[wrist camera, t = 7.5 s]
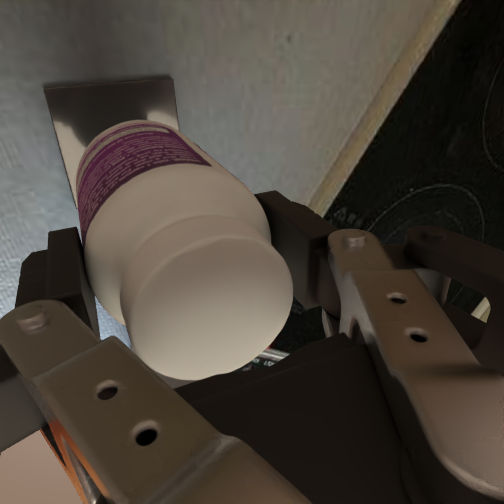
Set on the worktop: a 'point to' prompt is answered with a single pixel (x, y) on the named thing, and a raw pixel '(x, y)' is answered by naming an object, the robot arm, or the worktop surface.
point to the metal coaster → (105, 113)
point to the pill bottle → (179, 251)
